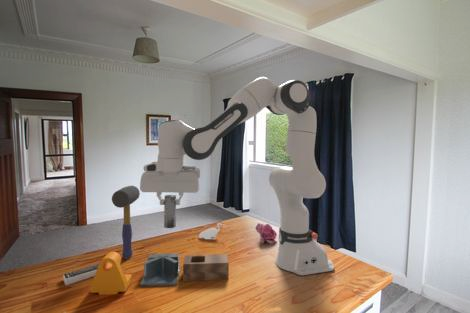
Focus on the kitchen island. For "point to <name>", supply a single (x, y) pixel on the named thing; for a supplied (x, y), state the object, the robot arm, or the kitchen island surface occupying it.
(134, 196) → the rubber mallet
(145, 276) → the V-block
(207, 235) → the figurine
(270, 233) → the flower
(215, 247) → the kitchen island surface
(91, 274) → the multiport hub
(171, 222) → the steel axle
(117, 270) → the bracket
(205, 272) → the walnut beam
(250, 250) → the kitchen island surface
